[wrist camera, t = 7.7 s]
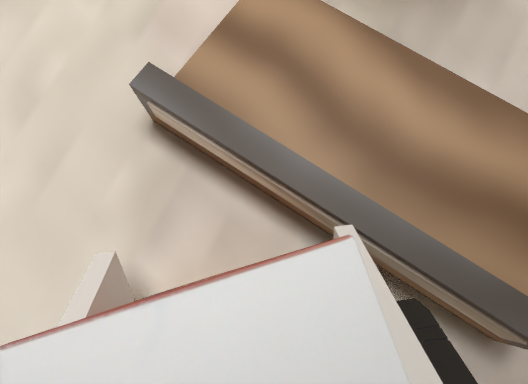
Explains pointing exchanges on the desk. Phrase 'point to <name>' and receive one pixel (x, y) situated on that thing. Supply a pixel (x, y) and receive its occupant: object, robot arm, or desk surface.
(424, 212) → the shelf board
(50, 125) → the desk surface
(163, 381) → the small box
